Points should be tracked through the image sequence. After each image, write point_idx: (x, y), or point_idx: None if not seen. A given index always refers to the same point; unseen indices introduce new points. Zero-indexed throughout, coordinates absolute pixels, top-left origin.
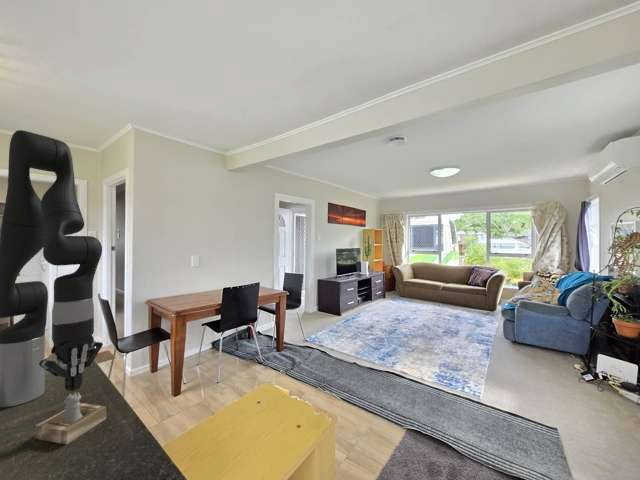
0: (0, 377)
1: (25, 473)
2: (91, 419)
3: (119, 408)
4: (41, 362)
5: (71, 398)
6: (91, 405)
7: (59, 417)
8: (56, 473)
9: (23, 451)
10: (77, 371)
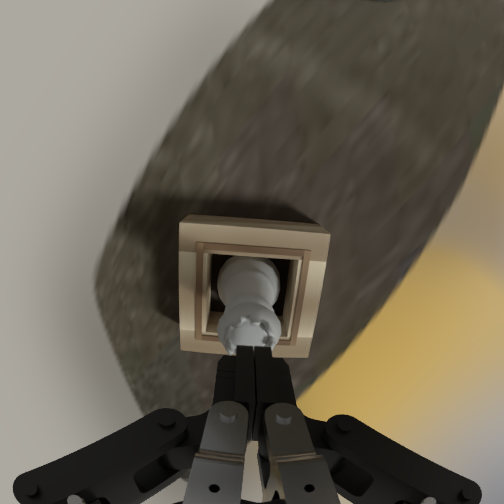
0: None
1: (104, 320)
2: None
3: (350, 329)
4: (22, 499)
5: (230, 352)
6: (313, 305)
7: (238, 253)
8: (125, 375)
9: (143, 239)
10: (258, 449)
